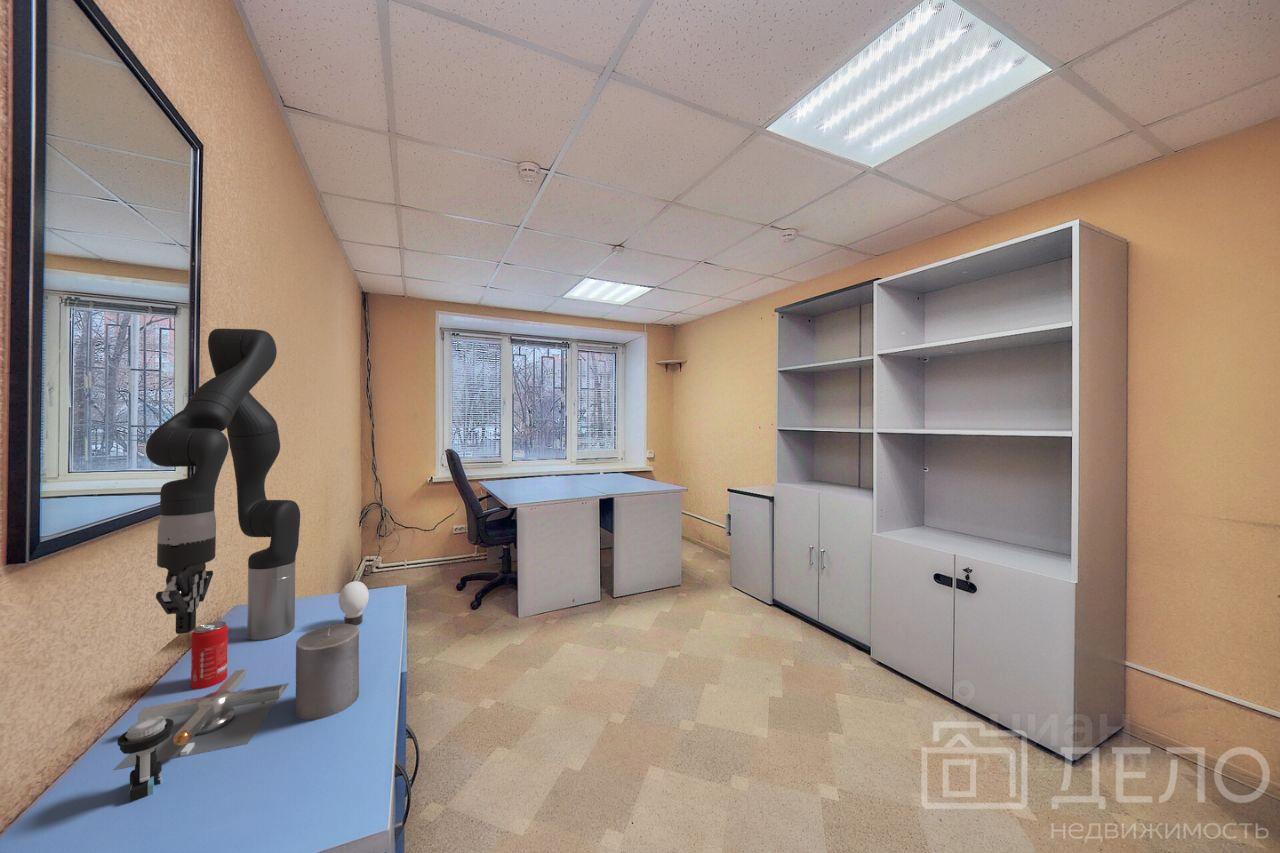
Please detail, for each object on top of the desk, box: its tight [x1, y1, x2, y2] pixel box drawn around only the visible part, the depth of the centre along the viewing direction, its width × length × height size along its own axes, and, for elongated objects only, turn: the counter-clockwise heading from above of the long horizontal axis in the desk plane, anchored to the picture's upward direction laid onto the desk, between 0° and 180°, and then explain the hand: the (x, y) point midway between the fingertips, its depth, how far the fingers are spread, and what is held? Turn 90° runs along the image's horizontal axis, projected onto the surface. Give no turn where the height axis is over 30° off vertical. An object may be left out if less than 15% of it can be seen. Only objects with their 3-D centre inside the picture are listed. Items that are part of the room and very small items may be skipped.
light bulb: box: [338, 580, 370, 626], centre depth 118 cm, size 7×7×11 cm
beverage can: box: [190, 620, 229, 690], centre depth 89 cm, size 5×5×12 cm
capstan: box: [137, 669, 284, 746], centre depth 77 cm, size 20×19×4 cm
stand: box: [113, 682, 290, 771], centre depth 77 cm, size 18×16×2 cm
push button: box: [117, 716, 174, 803], centre depth 64 cm, size 7×5×10 cm
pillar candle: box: [295, 623, 360, 721], centre depth 83 cm, size 10×10×15 cm
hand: (185, 631), depth 81 cm, fingers closed
